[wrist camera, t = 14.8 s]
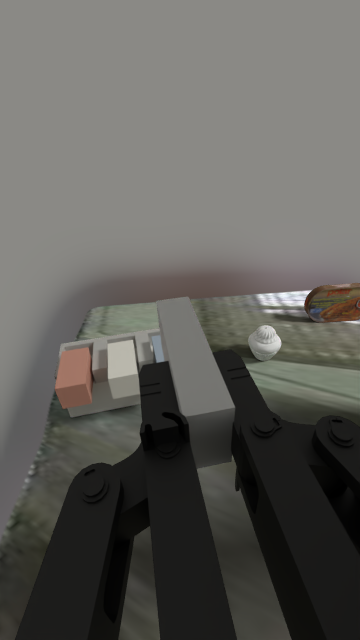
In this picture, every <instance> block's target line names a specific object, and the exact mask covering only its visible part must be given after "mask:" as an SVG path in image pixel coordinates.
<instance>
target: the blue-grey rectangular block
mask: <svg viewBox="0 0 360 640" xmlns="http://www.w3.org/2000/svg"><path fill="white" fill-rule="evenodd" d="M151 338H152V345H153V353H154V359H155V363H158V362H164V361H165V360H164V355H163V351H162V345H161V336H160V335H158V336H152V337H151Z"/></svg>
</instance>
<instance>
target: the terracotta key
mask: <svg viewBox="0 0 360 640" xmlns="http://www.w3.org/2000/svg"><path fill="white" fill-rule="evenodd" d="M55 391H56V394H57V396H58V398H59V401H60V403H61V406H62V408H63V409H66V408H71V407H76V406H81V405H86V404H91V403H92V392H93V372H92V358H91V355H90V351H89V348H88V347H86V348H81V349H75V350H69V351H63V352H62V354H61V359H60V364H59V369H58V375H57V380H56V385H55Z"/></svg>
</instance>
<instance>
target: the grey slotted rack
mask: <svg viewBox="0 0 360 640" xmlns="http://www.w3.org/2000/svg"><path fill="white" fill-rule="evenodd" d="M158 335H160V328H156V329H150V330H144V331H138V332H132V333H126V334H120V335H114V336H107V337H101V338H95V339H89V340H83V341H77V342H71V343H65V344H61V348H60V353H59V358H58V362H57V367H56V373H55V379H56V380H57V375H58V369H59V364H60V359H61V354H62V352H63V351H69V350H75V349H81V348H86V347H88V348H89V351H90V355H91V358H92V372H93V392H92V403H91V404H86V405H81V406H76V407H71V408H67V409H68V412H69V414H70V417H71V418H72V417H77V416H82V415H87V414H92V413H97V412H102V411H107V410H112V409H117V408H122V407H127V406H132V405H137V404H141V400H140V394H137V395H132V396H127V397H121V398H116V399H113V396H112V393H111V389H110V385H109V381H108V344H110V343H116V342H122V341H128V340H133V343H134V349H135V355H136V361H137V368H138V375H139V373H140V370H141V368H142V366H143V365H146V364H152V363H155V359H154V353H153V345H152V338H151V337H152V336H158Z"/></svg>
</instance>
